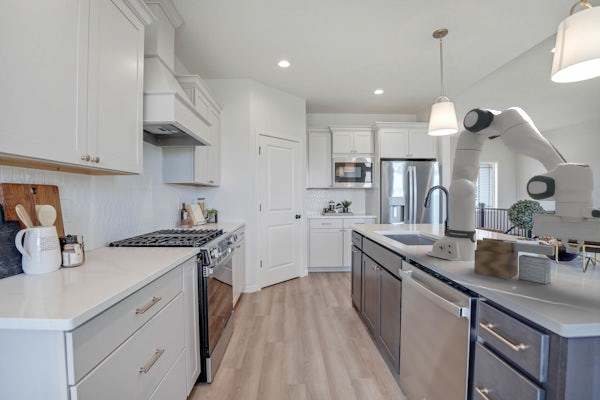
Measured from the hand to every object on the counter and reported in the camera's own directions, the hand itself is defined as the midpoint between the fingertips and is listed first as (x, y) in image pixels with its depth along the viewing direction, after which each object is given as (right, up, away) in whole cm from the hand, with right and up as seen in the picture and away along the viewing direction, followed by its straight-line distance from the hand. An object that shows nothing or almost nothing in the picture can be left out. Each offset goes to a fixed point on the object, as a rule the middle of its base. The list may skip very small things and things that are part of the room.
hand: (572, 253), depth 89 cm
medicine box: (-6, -12, +8) cm, 15 cm away
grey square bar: (-7, -1, +9) cm, 12 cm away
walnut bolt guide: (-13, -11, +17) cm, 24 cm away
